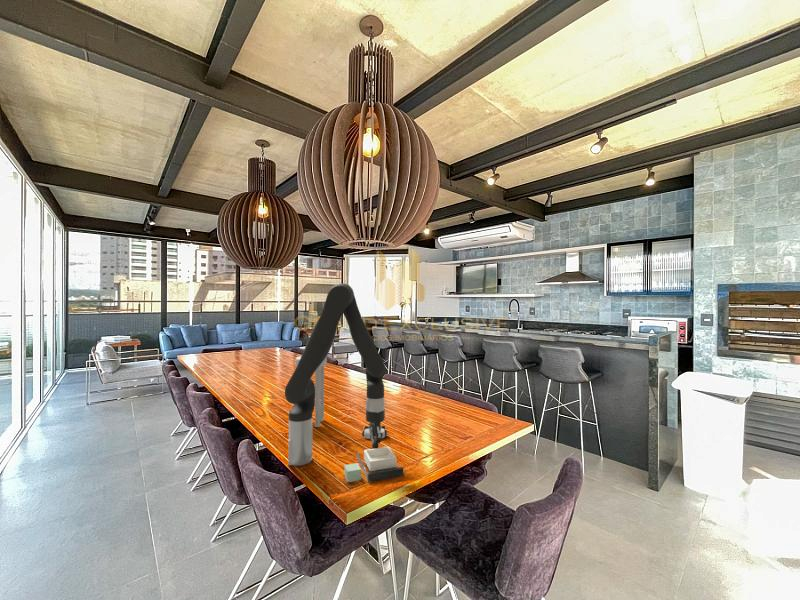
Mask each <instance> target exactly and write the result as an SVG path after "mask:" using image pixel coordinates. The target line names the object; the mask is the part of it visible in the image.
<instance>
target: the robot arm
mask: <svg viewBox="0 0 800 600" xmlns="http://www.w3.org/2000/svg"><path fill="white" fill-rule="evenodd" d="M343 315H344V317H345V321H346V322H347V326H348V330H349V333H350V336H351V339H352V342H353V344H354V346H355V348H356V350H357V352H358V354H359V355H360V357H361V358H362V361H363V362H364V365H365V376H366V377H365V378H366V379H365V380H366V400H365V420H366V422H368V427H369V431H370V438H371V439H370V441H371V449H374V448H379V444H381V442H382V439H383V438H382V436H383V434H382V433H381V426H382V425H381V423H382V422H384V421H385V419H386V416H385V415H386V412H385V411H386V404H385V385H384V381H383V375H384V374H385V372H386V364H385V361H384V360H383V358H382V356H381V354H380V353H379V351H378V349H377V347H376V345H375V342H374V341H373V339H372V338H373V337H372V336H371V334H370V332H369V330H368V328H367V325H366V324H365V322H364V320H363V318H362V314H361V313H360V309H359V307H358V303H357V300H356V296H355V293H354V289H353V287H352V286H350V285H349V284H347V283H344V282H343V283H337V284H334V285H333V286H332V287H330V289H329V290H328V291H327V295H326V299H325V301H324V305H323V306H322V310H321V314H320V316H319V318H318V320H317V321H316V324H315V325H314V327H313V329H312V332H311V333H310V335H309V338H308V340H307V342H306V345H305V347H304V350H303V352H302V354H301V358H300V361H299V363H298V365H297V366H295V369H294V371H293V373H292V375H291V377H290V379H289V380H288V382H287V384H286V386H285V389H284V396H285V399H286V401H287V402H288V403H290V404H291V405H293V406H292V407H291V409H290V410H289V412H288V466H297V467H298V466H300V467H301V466H305V465H308V464H310V463H311V462H312V460H313V413H314V412H315V381H314V380H313V379H312V377H313V375H314V374H315V371H316V369H317V368H318V367H319V366H320V365H321V363H322V362H323V361H324V359H325V358H326V357H327V356H328V355H329V353H330V350H331V348H332V346H333V343H334V340H335V337H336V334H337V329H338V325H339V322H340V320H341V318H342V316H343Z"/></svg>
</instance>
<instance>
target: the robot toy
mask: <svg viewBox="0 0 800 600" xmlns="http://www.w3.org/2000/svg"><path fill="white" fill-rule="evenodd" d="M386 428H387V426H385V425H381V433H382V434H383V436H382V439H384V438H386V436H387V435H388V432H387V430H386ZM363 429H364V430H363V431H362V432H361V433H360V435H361V436H362V437H363V438H364V439H365V440H371V438H370V431H369V425H368V426H367V425H365V426H363Z"/></svg>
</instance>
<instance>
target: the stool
mask: <svg viewBox="0 0 800 600" xmlns="http://www.w3.org/2000/svg"><path fill="white" fill-rule="evenodd" d="M301 356H302V355H301ZM301 356H297V357H296V358H294V362H295V364H294V366H295V367H297V365H298V363H299V361H300V358H301ZM327 359H328V358H327V356H326V358H325V359H324V361H323V362H322V363H321V365H320V366H319V367H318V368H317V369H316V371H315V372H314V374H315V375H314V376H315V378H314V385H315V407H314V428H315V427H320V428H321V422H324V421H325V414H324V413H325V366H326V365H327V363H328V362H327V361H328V360H327Z"/></svg>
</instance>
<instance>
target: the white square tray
mask: <svg viewBox="0 0 800 600" xmlns="http://www.w3.org/2000/svg"><path fill="white" fill-rule="evenodd" d="M397 459H398V458H397V456H396V455H395V453H394V452H393V451H392V449H391V448H390V446H382V447H378V448H374V449H372V448H369V449H364V450H363V460H364V464H365V465H364V466H365V467H367V469H368V470H369V472H375V471H381V470H387V469H392V468H395V467H396V465H397V462H398V461H397Z"/></svg>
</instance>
